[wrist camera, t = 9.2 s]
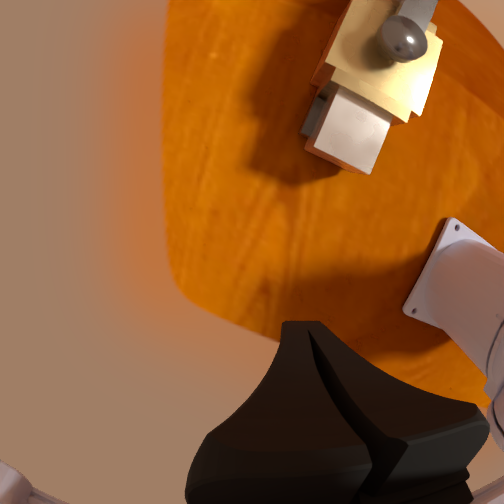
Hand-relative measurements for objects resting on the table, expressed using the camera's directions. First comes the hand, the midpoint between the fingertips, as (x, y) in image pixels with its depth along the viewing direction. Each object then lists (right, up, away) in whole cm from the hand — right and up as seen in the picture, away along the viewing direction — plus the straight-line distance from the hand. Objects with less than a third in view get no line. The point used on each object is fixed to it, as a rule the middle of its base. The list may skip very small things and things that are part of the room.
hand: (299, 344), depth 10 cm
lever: (+7, +16, 0) cm, 18 cm away
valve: (+5, +15, +5) cm, 17 cm away
